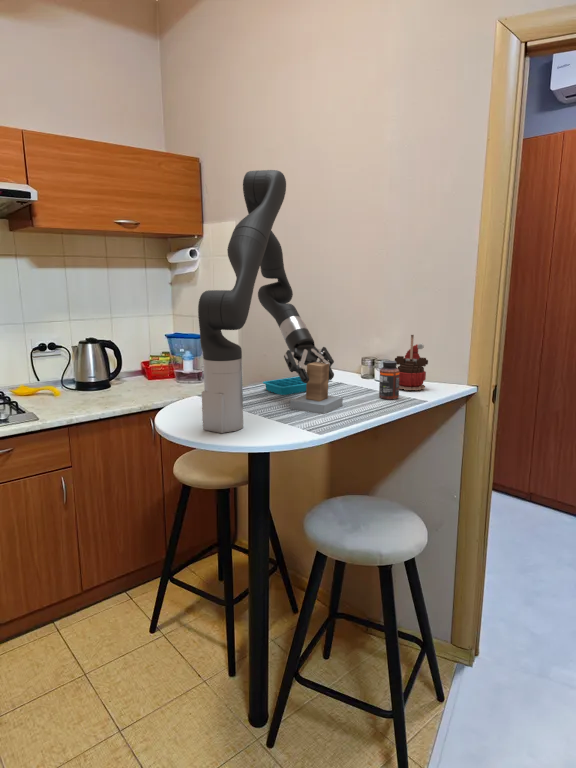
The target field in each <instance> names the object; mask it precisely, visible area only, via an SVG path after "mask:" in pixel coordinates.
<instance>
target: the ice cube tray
mask: <svg viewBox="0 0 576 768" xmlns="http://www.w3.org/2000/svg"><path fill="white" fill-rule="evenodd" d="M329 381H330V380H328V382H329ZM262 384H264V385H265V391H267V390H268V392H270V391H271V393H273V392H274V393H275V394H277V395H281V396H286V395H292V394H298V393H304V392H305V393H306V383H304V382H302V380H301V379H300V377H299V375H298V376H293V377H287V378H285V377H284V378H280V379H271V380H266V381H262Z"/></svg>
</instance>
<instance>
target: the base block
mask: <svg viewBox="0 0 576 768" xmlns="http://www.w3.org/2000/svg"><path fill="white" fill-rule="evenodd" d="M343 401H344V400H343V396H341V397H340V396H334V395H328V398H327V399H325V400H322V401H315V400H309V399H306V393H305V394H303V395H300V396H298V397H296V398H292V399H290V400H289V409H291V410H296V411H301V412H308V411H309V412H308V413H314V412H315V414H322V415H326V414H327V413H330V412H332V411H334V410H336V409H338V408H340V407H343ZM325 413H326V414H325Z"/></svg>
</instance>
